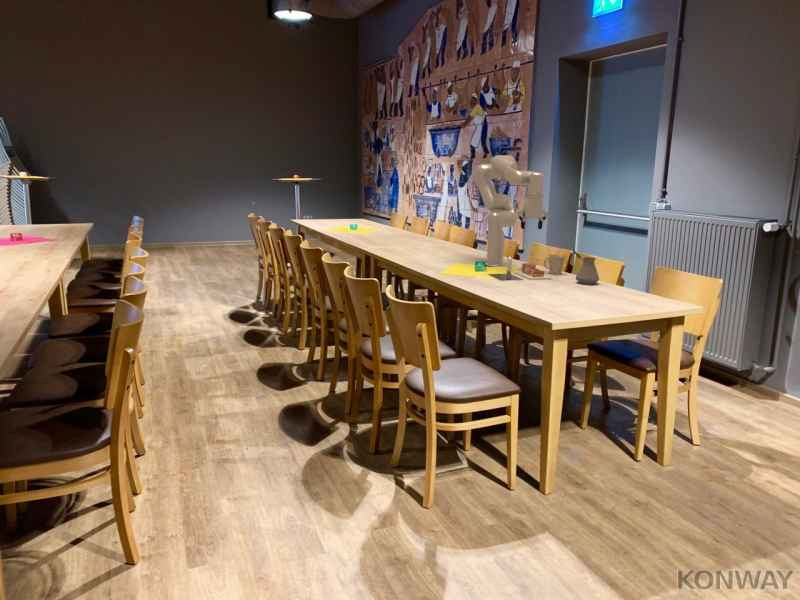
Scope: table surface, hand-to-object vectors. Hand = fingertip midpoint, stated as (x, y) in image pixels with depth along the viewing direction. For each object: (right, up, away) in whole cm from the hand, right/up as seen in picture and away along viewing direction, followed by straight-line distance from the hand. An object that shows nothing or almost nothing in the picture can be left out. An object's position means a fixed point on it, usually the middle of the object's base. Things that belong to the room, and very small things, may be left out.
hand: (531, 228), depth 332 cm
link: (-1, -25, -7) cm, 26 cm away
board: (-1, -26, -6) cm, 27 cm away
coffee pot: (+23, -29, -12) cm, 39 cm away
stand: (-16, -27, -10) cm, 33 cm away
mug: (+13, -23, +10) cm, 29 cm away
